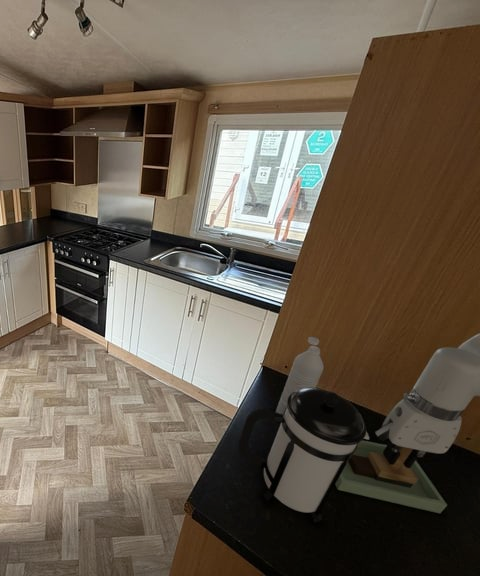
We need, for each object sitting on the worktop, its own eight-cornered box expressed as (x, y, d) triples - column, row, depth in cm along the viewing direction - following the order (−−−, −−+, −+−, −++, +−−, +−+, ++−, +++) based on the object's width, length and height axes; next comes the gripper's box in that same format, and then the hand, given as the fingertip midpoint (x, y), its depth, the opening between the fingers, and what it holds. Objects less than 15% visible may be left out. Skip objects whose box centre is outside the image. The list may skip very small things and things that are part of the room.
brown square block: (365, 462, 77) (368, 457, 76) (373, 478, 74) (376, 473, 73) (346, 459, 78) (349, 453, 77) (354, 474, 75) (357, 468, 74)
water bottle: (301, 430, 86) (331, 359, 75) (274, 421, 89) (300, 351, 78) (299, 408, 93) (328, 340, 82) (275, 400, 96) (299, 333, 85)
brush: (398, 467, 76) (418, 438, 72) (411, 488, 72) (433, 458, 67) (364, 460, 78) (381, 431, 73) (375, 480, 73) (394, 451, 69)
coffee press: (287, 450, 81) (325, 359, 68) (345, 516, 67) (407, 417, 54) (229, 466, 77) (257, 372, 64) (277, 539, 63) (326, 438, 50)
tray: (402, 457, 79) (408, 449, 78) (440, 513, 68) (447, 505, 66) (316, 439, 84) (320, 431, 82) (337, 489, 72) (342, 481, 71)
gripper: (398, 409, 63) (363, 467, 71) (498, 426, 59) (449, 485, 68) (378, 383, 69) (348, 439, 78) (468, 397, 66) (426, 454, 74)
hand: (396, 460), depth 72 cm, fingers closed on brush, 2 cm apart
